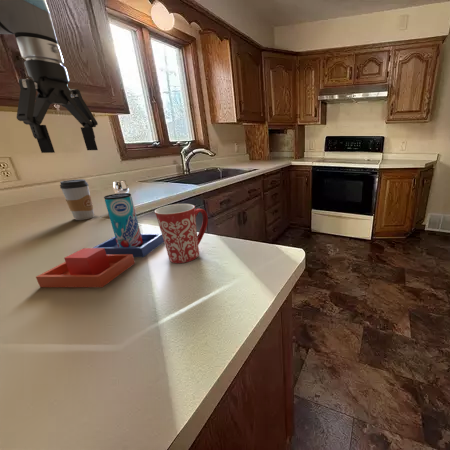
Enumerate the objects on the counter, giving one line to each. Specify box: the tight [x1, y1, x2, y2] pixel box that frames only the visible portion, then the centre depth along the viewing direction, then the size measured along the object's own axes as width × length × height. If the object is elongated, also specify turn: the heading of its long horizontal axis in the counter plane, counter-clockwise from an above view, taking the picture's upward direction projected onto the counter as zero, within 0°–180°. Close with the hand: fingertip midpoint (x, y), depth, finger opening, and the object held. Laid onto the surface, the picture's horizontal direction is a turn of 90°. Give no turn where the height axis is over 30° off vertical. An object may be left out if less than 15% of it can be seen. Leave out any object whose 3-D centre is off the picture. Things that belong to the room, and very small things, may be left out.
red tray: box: [35, 254, 136, 288], centre depth 56 cm, size 14×11×3 cm
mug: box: [154, 203, 209, 264], centre depth 64 cm, size 13×9×14 cm
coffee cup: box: [59, 178, 95, 221], centre depth 97 cm, size 8×8×15 cm
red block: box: [63, 247, 110, 275], centre depth 56 cm, size 5×5×5 cm
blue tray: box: [92, 233, 164, 258], centre depth 70 cm, size 14×11×3 cm
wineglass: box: [112, 179, 130, 194], centre depth 113 cm, size 6×6×12 cm
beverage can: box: [103, 192, 143, 247], centre depth 67 cm, size 6×6×15 cm
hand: (72, 151), depth 68 cm, fingers open, 13 cm apart
